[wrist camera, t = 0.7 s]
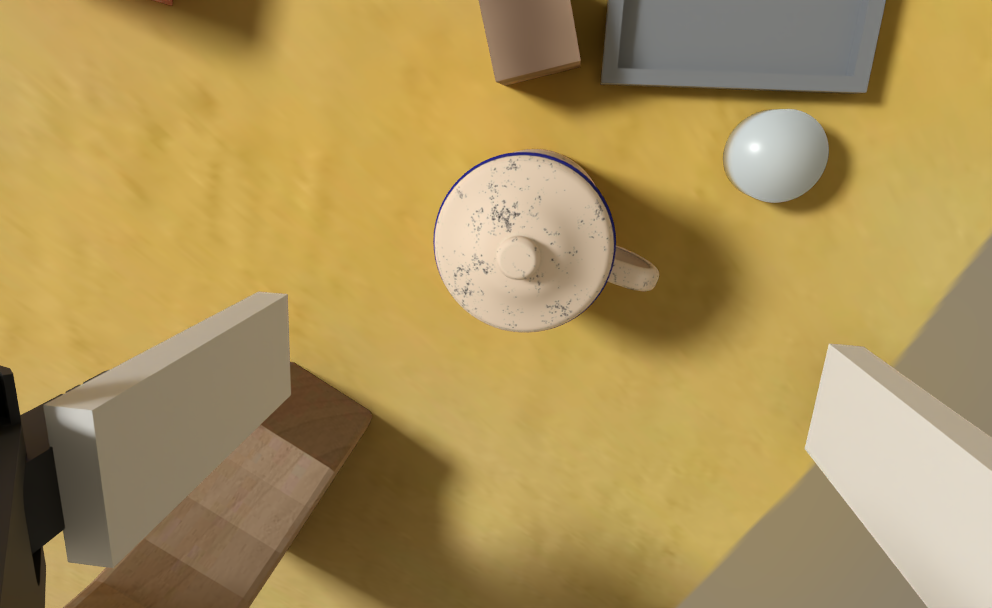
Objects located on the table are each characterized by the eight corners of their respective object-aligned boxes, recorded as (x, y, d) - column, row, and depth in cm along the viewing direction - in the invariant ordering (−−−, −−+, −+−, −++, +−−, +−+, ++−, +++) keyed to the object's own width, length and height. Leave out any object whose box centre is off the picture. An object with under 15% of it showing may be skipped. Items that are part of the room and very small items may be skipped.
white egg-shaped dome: (820, 111, 34) (837, 111, 32) (803, 199, 36) (818, 205, 34) (729, 107, 35) (740, 107, 33) (716, 194, 36) (726, 200, 34)
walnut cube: (565, -16, 34) (564, -35, 30) (580, 67, 35) (580, 60, 31) (488, 5, 35) (476, -11, 31) (505, 85, 36) (495, 81, 32)
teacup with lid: (445, 261, 40) (395, 316, 29) (488, 123, 37) (450, 126, 26) (618, 322, 39) (635, 402, 28) (675, 189, 37) (718, 220, 25)
